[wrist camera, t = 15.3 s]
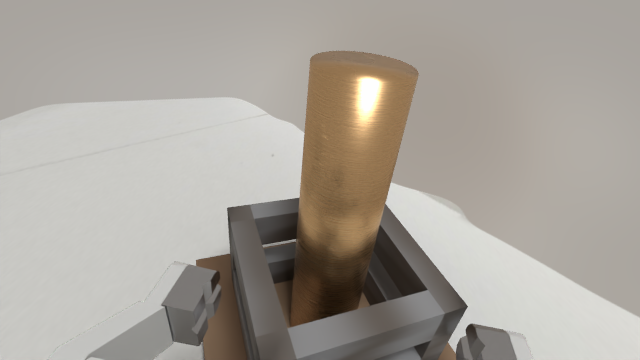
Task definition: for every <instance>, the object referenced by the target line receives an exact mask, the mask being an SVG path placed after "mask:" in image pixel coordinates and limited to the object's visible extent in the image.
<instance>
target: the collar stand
mask: <svg viewBox="0 0 640 360" xmlns="http://www.w3.org/2000/svg"><path fill="white" fill-rule="evenodd" d="M299 199H300V198H295V199H288V200H280V201H273V202H266V203H259V204H251V205H244V206H237V207H230V208H227V211H228V226H229V241H230V254H226V255H221V256H215V257H210V258H204V259H199V260H196V265H197V266H198V267H202V268H206V269H211V270H215V271H219V272H220V280H219V282H218V284H219V285H220V286H221V291H222V293H221V300H220V303H219V306H218V309H217V311H216V313H215V315H214V316H213V317H211V318H210V319H208V330H207V332H206V334H205V336H204V338H203V345H204V357H205V360H456V354H455V352H454V351H453V349H452V348H451V346H450V345H449V343H448V341H449V339H450V337H451V335H452V333H453V332H454V330H455V328H456V326H457V325H458V323H459V321H460V319H461V318H462V316H463V314H464V312H465V310H466V309H467V307H468V306H467V305H466V303H465V302H464V301H463V300H462V298H461V297H460V296H459V295H458V293H457V292H456V291H455V290H454V289H453V287H452V286H451V285H450V284H449V282H448V281H447V280H446V279H445V277H444V276H443V275H442V274H441V272H440V271H439V270H438V269H437V267H436V266H435V265H434V264H433V262H432V261H431V260H430V259H429V257H428V256H427V255H426V254H425V253H424V251H423V250H422V249H421V248H420V246H419V245H418V244H417V243H416V241H415V240H414V239H413V238H412V236H411V235H410V234H409V233H408V231H407V230H406V229H405V228H404V226H403V225H402V224H401V223H400V221H399V220H398V219H397V218H396V217H395V215H394V214H393V213H392V212H391V210H390V209H389V208H388V207H387V205H386V204H385V206H384V210H383V214H382V218H381V222H380V226H379V229H378V233H377V237H376V241H375V245H374V249H373V253H372V257H371V260H370V264H369V268H368V272H367V276H366V280H365V284H364V287H363V291H362V295H361V299H360V303H359V307H358V309H357V310H353V311H349V312H346V313H342V314H338V315H335V316H331V317H327V318H324V319H320V320H316V321H313V322H309V323H305V324H302V325H298V326H294V327H291V326H290V315H291V302H292V289H293V276H294V263H295V250H296V242H291V243H286V244H281V245H275V246H270V247H264V248H263V246H262V245H264V244H270V243H275V242H281V241H287V240H292V239H296V238H297V225H298V212H299Z"/></svg>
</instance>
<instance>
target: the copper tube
mask: <svg viewBox="0 0 640 360" xmlns="http://www.w3.org/2000/svg"><path fill="white" fill-rule="evenodd" d="M417 79H418V71H417V70H416V69H415V68H414V67H412V66H411V65H409V64H407V63H404V62H402V61H400V60H397V59H393V58H390V57H386V56H382V55H376V54H371V53H364V52H355V51H329V52H322V53H318V54H316V55H314V56H312V57H311V59H310V71H309V84H308V96H307V109H306V123H305V135H304V147H303V160H302V173H301V186H300V199H299V212H298V225H297V238H296V250H295V263H294V276H293V289H292V302H291V315H290V326H291V327H294V326H298V325H302V324H305V323H309V322H313V321H316V320H320V319H324V318H327V317H331V316H335V315H338V314H342V313H346V312H349V311H353V310H357V309H358V307H359V303H360V299H361V295H362V291H363V287H364V284H365V280H366V276H367V272H368V268H369V264H370V260H371V257H372V253H373V249H374V245H375V241H376V237H377V233H378V229H379V226H380V222H381V218H382V214H383V210H384V206H385V202H386V199H387V195H388V191H389V187H390V183H391V179H392V175H393V171H394V167H395V164H396V160H397V156H398V152H399V148H400V144H401V141H402V136H403V133H404V129H405V125H406V121H407V117H408V113H409V110H410V106H411V102H412V98H413V94H414V90H415V86H416V82H417Z"/></svg>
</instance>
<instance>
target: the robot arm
mask: <svg viewBox="0 0 640 360" xmlns="http://www.w3.org/2000/svg"><path fill="white" fill-rule="evenodd" d="M219 280H220V272H219V271H215V270H211V269H206V268H202V267H198V266H193V265H189V264H185V263H180V262H174V263H172V264H171V265H170V266H169V268H168V269H167V270H166V272H165V273H164V274H163V276H162V277H161V279H160V280H159V281H158V283H157V284H156V286H155V287H154V288H153V290H152V291H151V292H150V294H149V295H148V297H147V298H146V299H145V301H144V302H143V301H138V302H137V303H135V304H133V305H131V306H130V307H128V308H126V309H124V310H122V311H121V312H119V313H117V314H115V315H114V316H112V317H110V318H108V319H106V320H105V321H103V322H101V323H99V324H98V325H96V326H94V327H92V328H90V329H89V330H87V331H85V332H83V333H82V334H80V335H78V336H76V337H75V338H73V339H71V340H69V341H67V342H66V343H64V344H62V345H60V346H59V347H57V348H56V350H55V351H54V352H53V353H52V354H51V355H50V357H49V358H48V359H47V360H153V359H154V358H156V357H157V356H158V355H159V354H161V353H162V352H163V351H164V350H166V349H167V348H168V347H169V346H171V345H172V344H173V342H179V343H184V344H189V345H194V346H200V344H201V342H202V340H203V338H204V336H205V334H206V332H207V330H208V319H210V318H211V317H213V316H214V315H215V313H216V311H217V309H218V306H219V303H220V300H221V293H222V291H221V286H220V285H219V284H218V282H219ZM466 335H467V336H464V337H462V338H460V340H459V342H458V344H457V349H456V360H534V359H533V356H532V354H531V351H530V348H529V346H528V343H527V340H526V338H525V337H524V336H523V334H520V333H515V332H510V331H504V330H502V329H497V328H492V327H487V326H482V325H476V324H470V325H468V327H467V328H466Z"/></svg>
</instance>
